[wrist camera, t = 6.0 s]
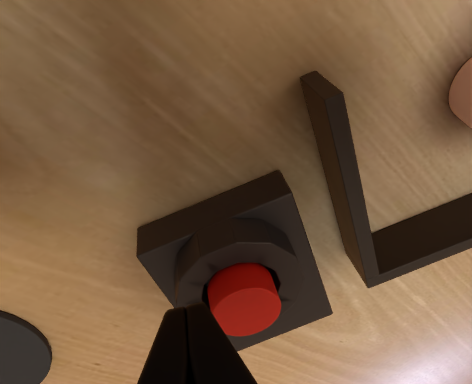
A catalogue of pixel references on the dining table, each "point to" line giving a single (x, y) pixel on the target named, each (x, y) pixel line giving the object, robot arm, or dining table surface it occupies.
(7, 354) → the coaster
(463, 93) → the smoothie
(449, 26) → the dining table surface
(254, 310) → the power button
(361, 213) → the brown u-shaped frame
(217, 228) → the power block
